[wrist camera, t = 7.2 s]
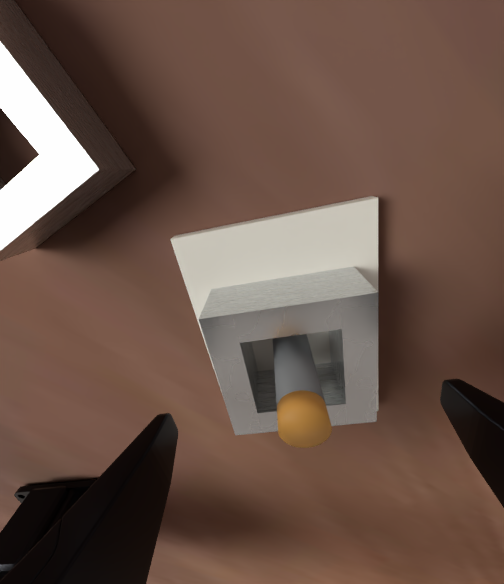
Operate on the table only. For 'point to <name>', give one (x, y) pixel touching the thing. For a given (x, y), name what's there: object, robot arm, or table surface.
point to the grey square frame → (49, 140)
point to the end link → (288, 322)
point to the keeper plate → (278, 264)
